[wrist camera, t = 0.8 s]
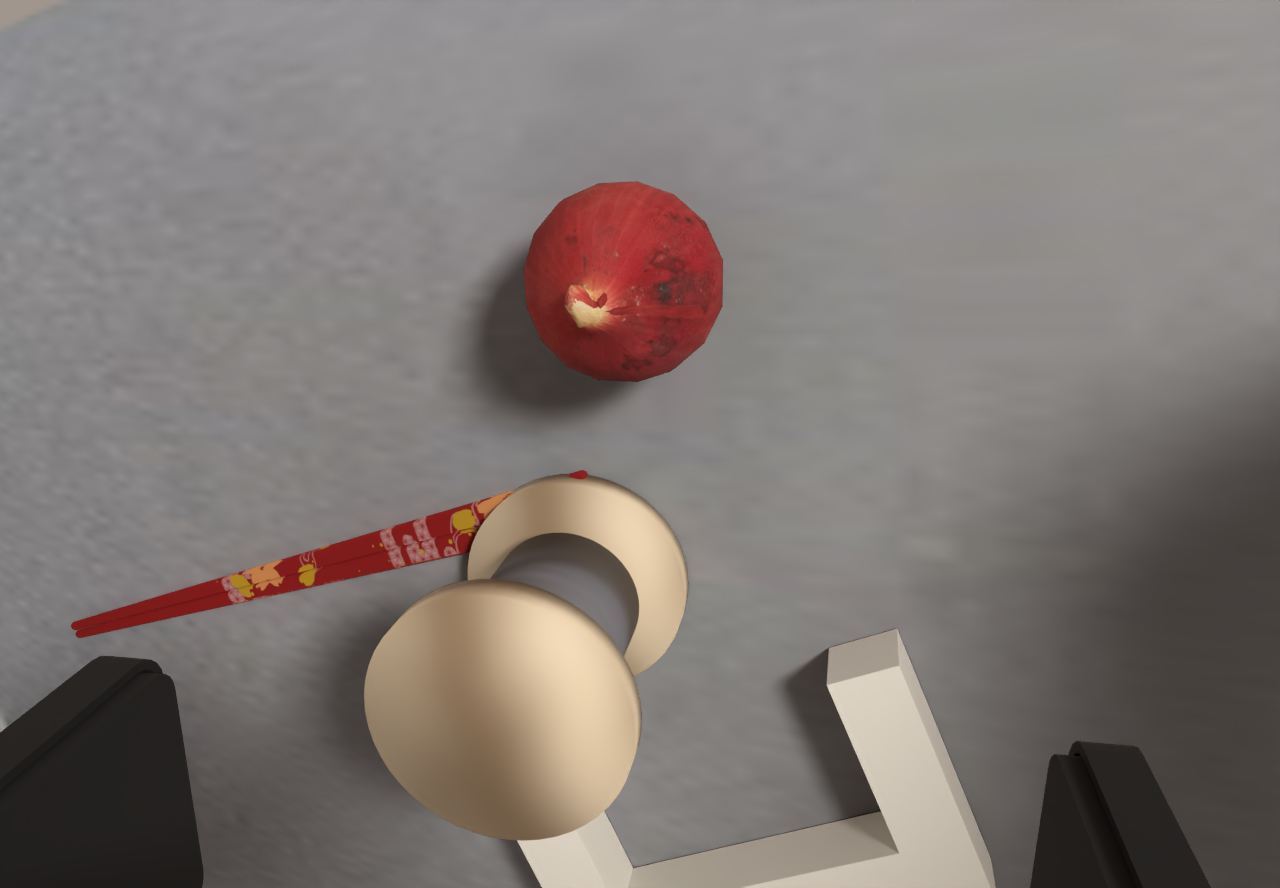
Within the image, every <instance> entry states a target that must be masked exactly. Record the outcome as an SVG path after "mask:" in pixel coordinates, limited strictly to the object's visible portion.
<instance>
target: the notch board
mask: <svg viewBox="0 0 1280 888" xmlns="http://www.w3.org/2000/svg"><path fill="white" fill-rule="evenodd" d="M827 687H828V690H829V692H830V694H831V696H832V699H833V701H834V703H835V706H836V708H837V710H838V713H839V715H840V717H841V720H842V722H843V724H844V727H845V729H846V731H847V733H848V736H849V738H850V740H851V743H852V745H853V747H854V750H855V752H856V754H857V757H858V759H859V761H860V764H861V766H862V768H863V770H864V773H865V775H866V777H867V780H868V782H869V784H870V787H871V789H872V791H873V794H874V796H875V798H876V801H877V803H878V805H879V807H880V810H881V811H880V812H875V813H871V814H867V815H862V816H858V817H854V818H849V819H845V820H841V821H836V822H832V823H828V824H823V825H819V826H815V827H810V828H806V829H801V830H797V831H793V832H788V833H784V834H780V835H775V836H771V837H767V838H762V839H758V840H754V841H749V842H745V843H741V844H736V845H732V846H727V847H723V848H719V849H714V850H710V851H706V852H701V853H697V854H693V855H688V856H684V857H680V858H675V859H671V860H667V861H662V862H658V863H653V864H649V865H645V866H640V867H636V868H633V867H632V865H631V863H630V861H629V859H628V857H627V855H626V853H625V851H624V849H623V847H622V845H621V843H620V841H619V839H618V837H617V835H616V833H615V831H614V829H613V827H612V825H611V823H610V821H609V820H608V818H607V816H606V814H605V812H604V811H603V812H602V813H601V814H600V815H599V816H598V817H597V818H595V819H594V820H592V821H591V822H589V823H588V824H586V825H585V826H582V827H580V828H578V829H576V830H574V831H572V832H569V833H566V834H563V835H560V836H557V837H552V838H546V839H541V840H526V841H521V840H517V841H518V843H519V845H520V847H521V849H522V851H523V853H524V855H525V856H526V858H527V860H528V862H529V864H530V866H531V868H532V870H533V872H534V873H535V875H536V877H537V879H538V881H539V883H540V885H541V887H542V888H996V887H995V881H994V875H993V869H992V862H991V858H990V855H989V853H988V850H987V848H986V845H985V843H984V840H983V838H982V836H981V833H980V831H979V828H978V826H977V823H976V821H975V818H974V816H973V814H972V811H971V809H970V806H969V804H968V801H967V799H966V796H965V794H964V791H963V789H962V787H961V784H960V782H959V779H958V777H957V774H956V772H955V769H954V767H953V765H952V762H951V760H950V757H949V755H948V752H947V750H946V747H945V745H944V743H943V740H942V738H941V735H940V733H939V730H938V728H937V725H936V723H935V721H934V718H933V716H932V713H931V711H930V708H929V706H928V703H927V701H926V699H925V696H924V694H923V691H922V689H921V686H920V684H919V681H918V679H917V677H916V674H915V672H914V669H913V667H912V664H911V662H910V659H909V657H908V655H907V652H906V650H905V647H904V645H903V642H902V640H901V637H900V635H899V633H898V630H897V629H894V630H891V631H887V632H884V633H880V634H877V635H873V636H869V637H866V638H862V639H859V640H855V641H852V642H848V643H845V644H841V645H838V646H834V647H831V648H829V656H828V672H827Z"/></svg>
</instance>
